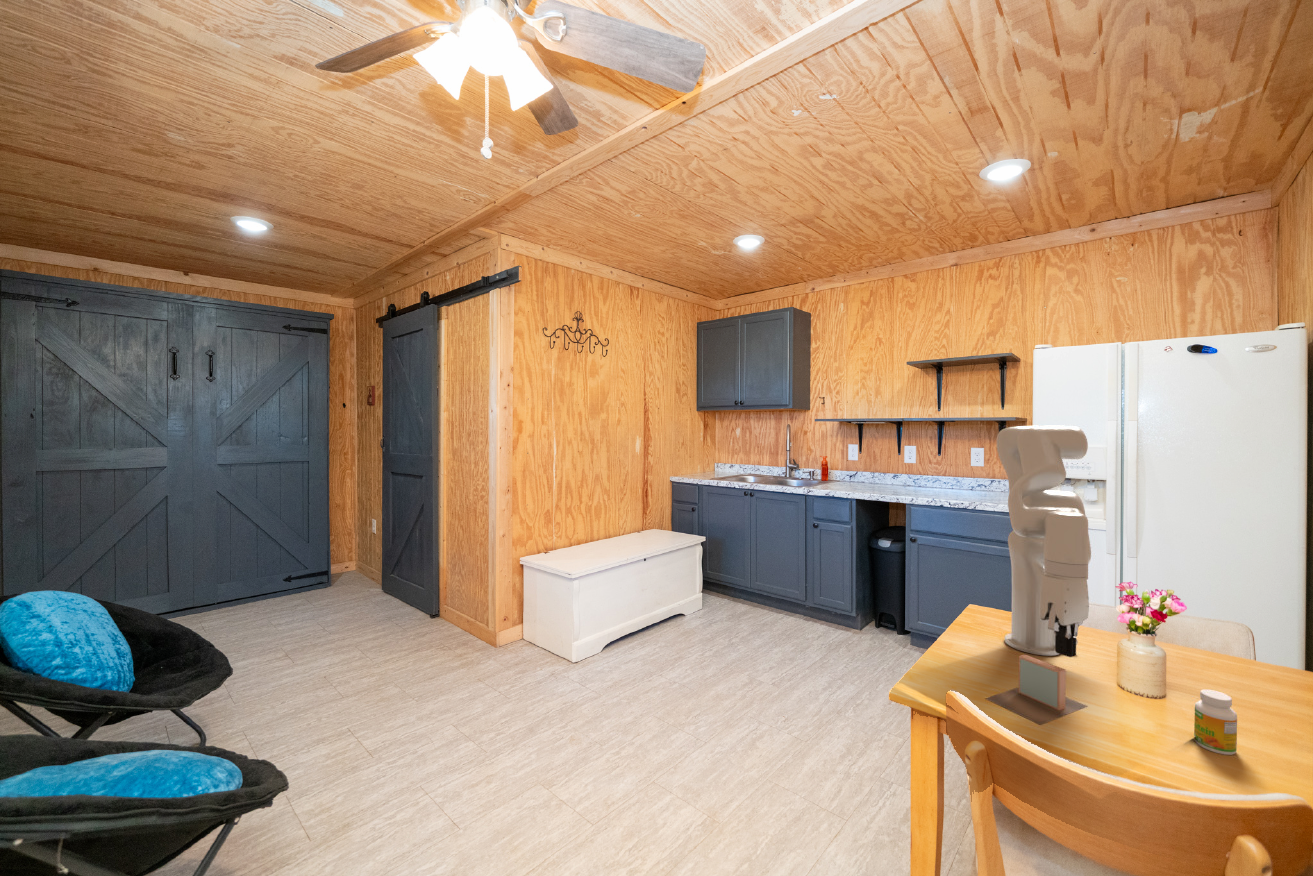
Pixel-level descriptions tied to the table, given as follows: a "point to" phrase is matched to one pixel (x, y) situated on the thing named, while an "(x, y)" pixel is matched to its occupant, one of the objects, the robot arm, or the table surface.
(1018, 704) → the board
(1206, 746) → the supplement bottle
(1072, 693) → the table surface
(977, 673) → the table surface
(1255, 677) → the table surface
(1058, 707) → the tile
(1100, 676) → the table surface
